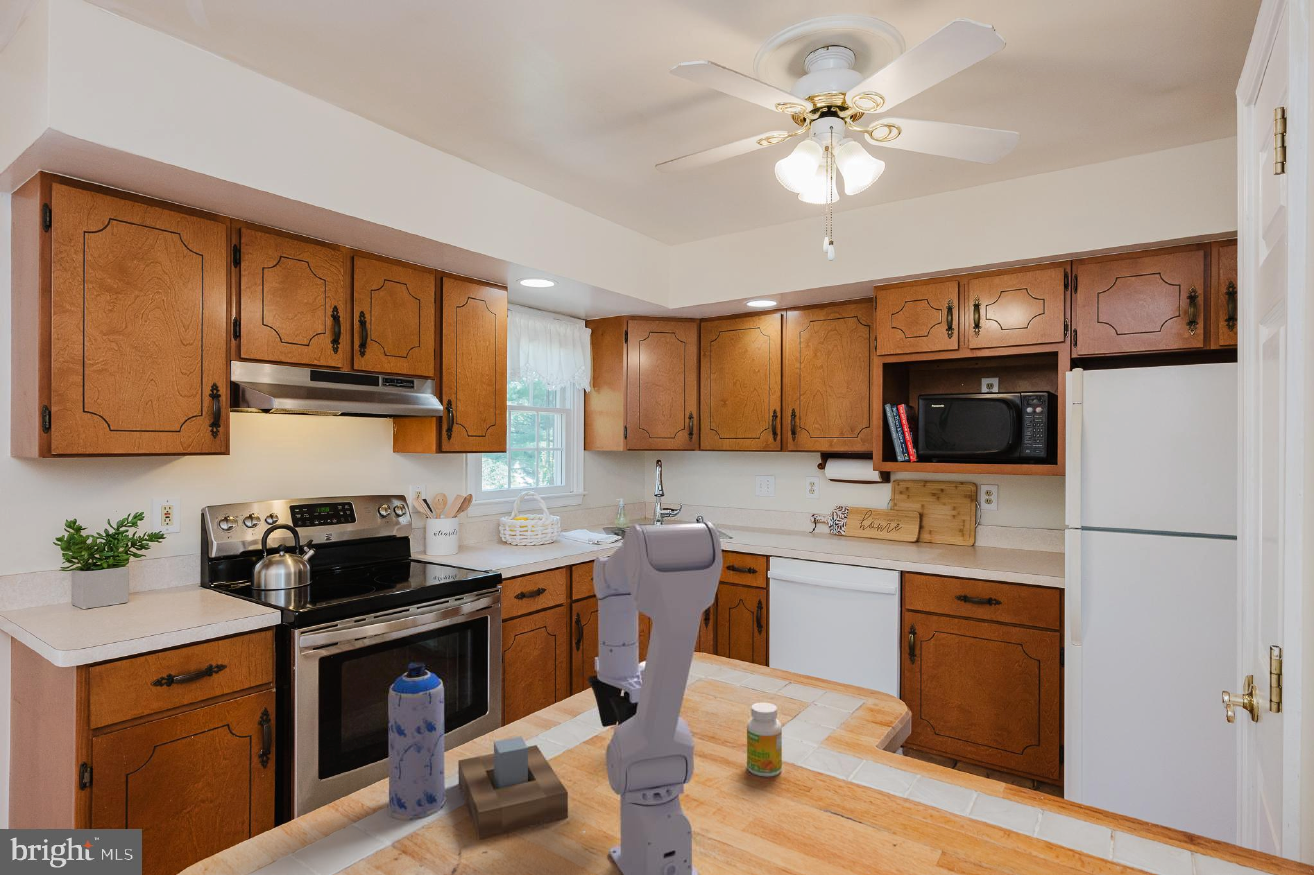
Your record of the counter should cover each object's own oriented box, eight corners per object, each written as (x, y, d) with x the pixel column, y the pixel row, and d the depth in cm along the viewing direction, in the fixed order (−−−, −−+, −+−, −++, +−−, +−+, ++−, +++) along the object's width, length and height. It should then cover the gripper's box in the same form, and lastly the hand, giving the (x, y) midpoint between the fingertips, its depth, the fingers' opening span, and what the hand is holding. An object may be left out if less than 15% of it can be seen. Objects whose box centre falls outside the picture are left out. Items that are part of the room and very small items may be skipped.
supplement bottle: (741, 772, 109) (741, 710, 108) (753, 758, 113) (753, 698, 113) (775, 780, 106) (775, 716, 106) (786, 765, 111) (786, 704, 111)
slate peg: (528, 803, 100) (527, 747, 100) (499, 810, 98) (499, 753, 98) (521, 790, 103) (521, 736, 103) (494, 796, 102) (493, 741, 102)
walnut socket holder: (567, 817, 96) (567, 792, 96) (479, 839, 91) (478, 812, 91) (536, 767, 111) (536, 745, 111) (458, 783, 106) (458, 760, 105)
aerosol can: (457, 799, 101) (457, 660, 101) (413, 826, 94) (412, 677, 94) (420, 785, 105) (419, 652, 105) (375, 810, 98) (374, 667, 98)
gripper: (665, 650, 95) (666, 750, 95) (625, 624, 108) (625, 712, 109) (617, 658, 92) (618, 761, 92) (581, 630, 105) (582, 720, 106)
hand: (618, 735), depth 100 cm, fingers open, 7 cm apart
